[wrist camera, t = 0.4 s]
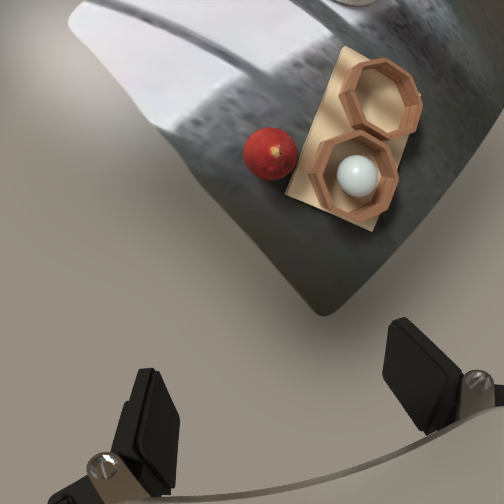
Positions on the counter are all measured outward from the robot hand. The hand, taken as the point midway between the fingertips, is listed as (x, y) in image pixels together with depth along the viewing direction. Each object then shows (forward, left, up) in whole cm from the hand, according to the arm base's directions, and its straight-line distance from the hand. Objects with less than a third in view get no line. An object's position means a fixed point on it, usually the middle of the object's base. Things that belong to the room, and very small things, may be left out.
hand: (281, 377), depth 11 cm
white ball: (-11, +11, -26) cm, 30 cm away
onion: (-9, 0, -27) cm, 29 cm away
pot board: (-17, +11, -27) cm, 34 cm away
